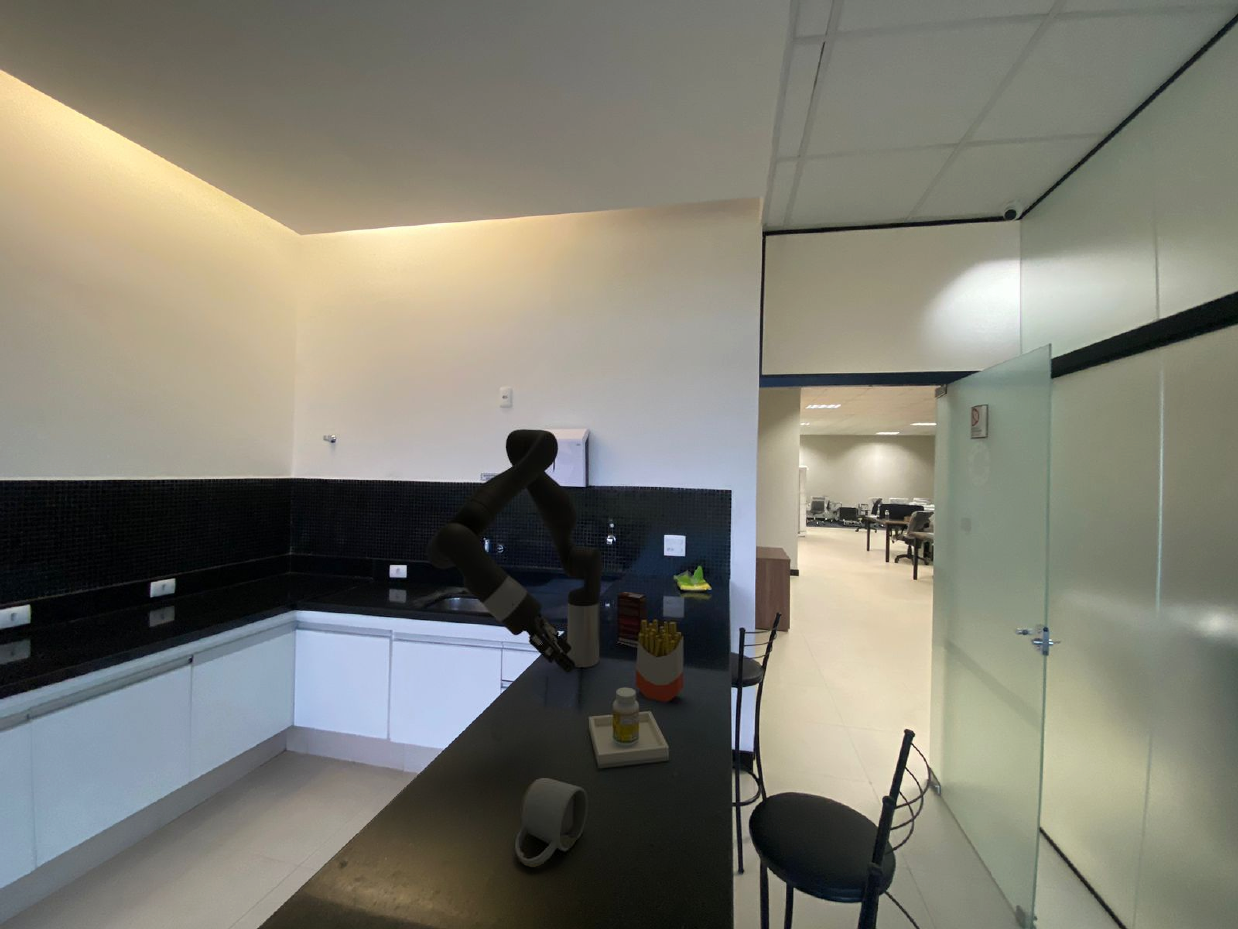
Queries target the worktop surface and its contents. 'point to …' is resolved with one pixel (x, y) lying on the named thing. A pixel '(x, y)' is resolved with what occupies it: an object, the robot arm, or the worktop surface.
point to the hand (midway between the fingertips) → (570, 659)
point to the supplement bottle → (625, 717)
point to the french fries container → (659, 661)
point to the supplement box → (630, 617)
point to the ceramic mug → (551, 815)
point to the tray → (614, 755)
